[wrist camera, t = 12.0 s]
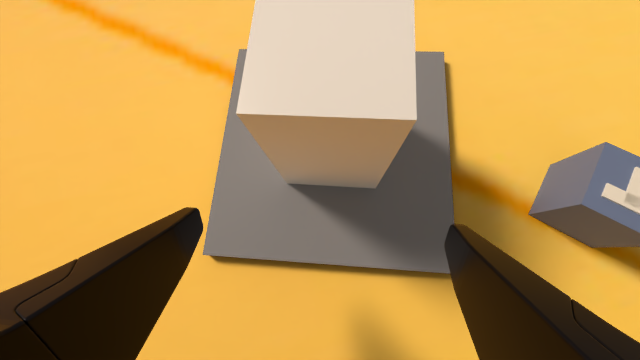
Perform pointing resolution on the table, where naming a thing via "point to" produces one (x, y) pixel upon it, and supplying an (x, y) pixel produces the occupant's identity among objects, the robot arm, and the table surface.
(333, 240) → the mat
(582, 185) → the letter cube
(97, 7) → the table surface
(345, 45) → the white tall block
